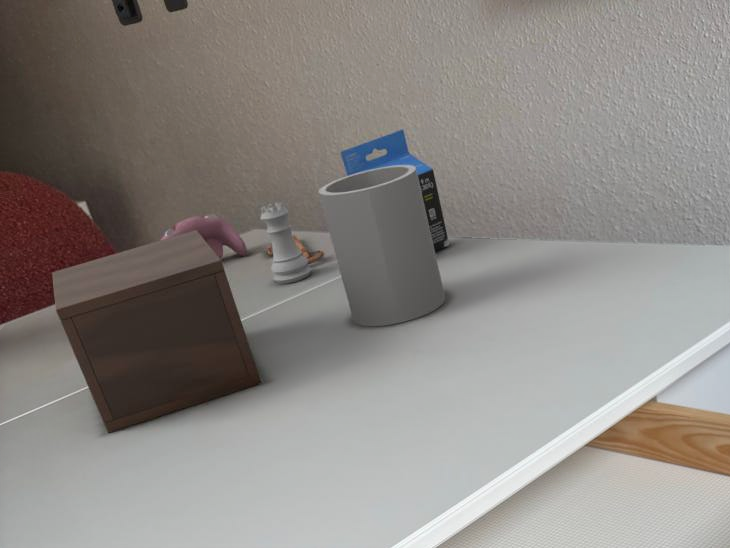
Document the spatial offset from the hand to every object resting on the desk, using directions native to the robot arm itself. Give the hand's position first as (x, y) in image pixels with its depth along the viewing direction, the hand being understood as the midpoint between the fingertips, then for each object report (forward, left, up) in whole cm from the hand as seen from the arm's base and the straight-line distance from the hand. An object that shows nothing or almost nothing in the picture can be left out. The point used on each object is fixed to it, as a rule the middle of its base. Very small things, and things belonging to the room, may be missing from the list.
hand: (156, 17), depth 107 cm
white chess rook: (+4, +4, -28) cm, 29 cm away
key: (+1, +14, -28) cm, 31 cm away
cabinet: (+2, -26, -28) cm, 38 cm away
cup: (+21, -14, -28) cm, 38 cm away
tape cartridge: (+18, +4, -28) cm, 34 cm away
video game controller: (-12, +17, -28) cm, 35 cm away
